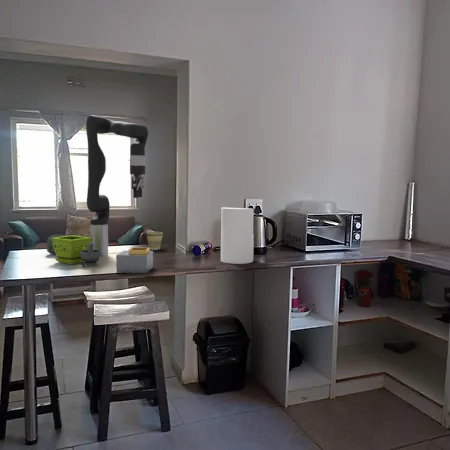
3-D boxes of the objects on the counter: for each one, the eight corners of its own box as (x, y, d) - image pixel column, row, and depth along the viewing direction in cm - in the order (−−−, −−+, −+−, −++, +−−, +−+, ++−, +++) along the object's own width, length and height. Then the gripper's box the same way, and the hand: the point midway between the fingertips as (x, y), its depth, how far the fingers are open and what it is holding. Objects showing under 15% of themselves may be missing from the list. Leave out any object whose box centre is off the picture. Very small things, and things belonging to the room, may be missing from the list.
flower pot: (71, 265, 216) (70, 240, 215) (51, 262, 223) (50, 237, 222) (92, 261, 228) (92, 236, 227) (73, 258, 235) (72, 234, 234)
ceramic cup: (155, 250, 264) (155, 234, 263) (142, 249, 269) (142, 232, 268) (169, 248, 275) (169, 232, 274) (157, 246, 280) (157, 230, 279)
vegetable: (77, 251, 244) (51, 241, 236) (65, 265, 250) (39, 256, 241) (78, 236, 253) (53, 226, 245) (67, 250, 258) (42, 240, 250)
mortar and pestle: (80, 263, 222) (80, 239, 221) (99, 262, 225) (99, 239, 224) (80, 268, 211) (80, 243, 210) (101, 267, 214) (101, 242, 213)
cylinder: (247, 264, 226) (248, 209, 223) (215, 262, 232) (216, 208, 229) (257, 259, 242) (258, 207, 239) (227, 256, 248) (227, 206, 245)
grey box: (116, 272, 203) (116, 250, 202) (124, 266, 216) (124, 246, 215) (146, 273, 202) (146, 251, 201) (152, 267, 215) (152, 247, 214)
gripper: (133, 165, 229) (134, 196, 231) (126, 164, 215) (126, 198, 217) (148, 165, 229) (148, 197, 231) (141, 164, 215) (141, 198, 216)
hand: (137, 197), depth 224 cm, fingers open, 8 cm apart
